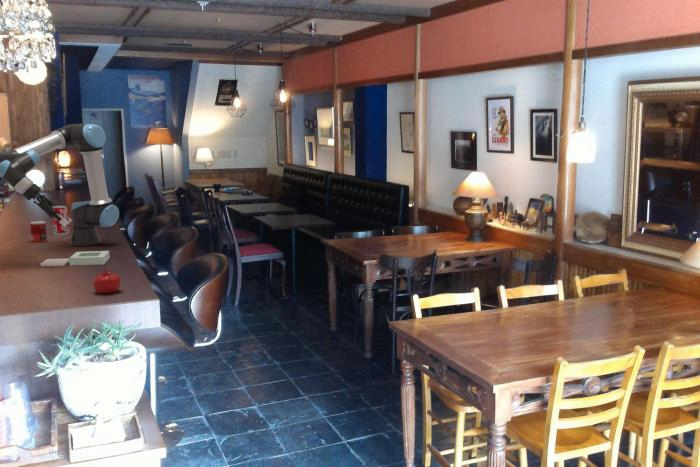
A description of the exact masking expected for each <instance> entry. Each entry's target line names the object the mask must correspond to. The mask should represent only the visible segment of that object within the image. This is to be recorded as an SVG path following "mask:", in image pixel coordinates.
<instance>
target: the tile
mask: <svg viewBox="0 0 700 467" xmlns="http://www.w3.org/2000/svg"><path fill="white" fill-rule="evenodd" d="M67 263H69V258H47V259H44V261H42V262H41V263H40V267H58V266H59V267H60V266H62V267H64V266H65V265H67Z"/></svg>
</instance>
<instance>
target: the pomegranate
mask: <svg viewBox="0 0 700 467" xmlns="http://www.w3.org/2000/svg"><path fill="white" fill-rule="evenodd" d="M103 271H104V273H103V272H97V274H98V275H97V276H95V278H94V280H93V283H92V284H93V288H94V290H95V292H96V293H97V294H101V295H102V294H103V295H104V294H113V293H115V292H117V291H119V289H120V288H121V283H122V282H121V281H122V279H121V277H120V276H119V275H118V274H117V273H115V272H116V271H113V270H111V271H109V272H108V271H107V268H104V269H103Z"/></svg>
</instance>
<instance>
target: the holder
mask: <svg viewBox="0 0 700 467" xmlns="http://www.w3.org/2000/svg"><path fill="white" fill-rule="evenodd" d="M68 259H69V262H68V263H69V267H71V266H72V267H73V266H96V265H101V266H102V265H105V264H106V263H107V262H108V261H109V259H111V258H110V250H100V251H99V250H98V251H96V250H95V251H94V250H93V251H89V250H88V251H75V253H73V254H72V255H70V256H69V257H68Z"/></svg>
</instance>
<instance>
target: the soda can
mask: <svg viewBox="0 0 700 467" xmlns="http://www.w3.org/2000/svg"><path fill="white" fill-rule="evenodd" d="M52 209H53V210H54V211H55V212H56V213H58V214H59V215H60V216H62V217H63V218H64V219H65V220H67V221H68V217H69V211H68V207H67V206H66V205H57V206H53V207H52ZM50 219H51V229H52V230H51V231H52V234H53V235H54V236H65V235H68V234H69V233H70V225H69V224H70V223H68V224H67V225H66V226H65V227H64V226H63V225H62V224H60V223H59V221H58V220H56V219H55V218H50Z"/></svg>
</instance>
